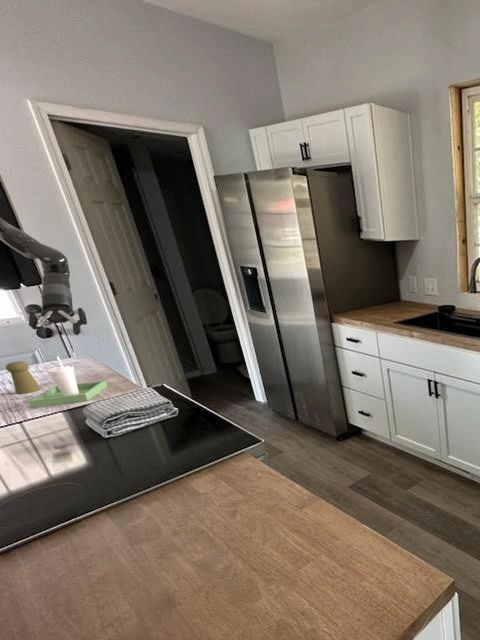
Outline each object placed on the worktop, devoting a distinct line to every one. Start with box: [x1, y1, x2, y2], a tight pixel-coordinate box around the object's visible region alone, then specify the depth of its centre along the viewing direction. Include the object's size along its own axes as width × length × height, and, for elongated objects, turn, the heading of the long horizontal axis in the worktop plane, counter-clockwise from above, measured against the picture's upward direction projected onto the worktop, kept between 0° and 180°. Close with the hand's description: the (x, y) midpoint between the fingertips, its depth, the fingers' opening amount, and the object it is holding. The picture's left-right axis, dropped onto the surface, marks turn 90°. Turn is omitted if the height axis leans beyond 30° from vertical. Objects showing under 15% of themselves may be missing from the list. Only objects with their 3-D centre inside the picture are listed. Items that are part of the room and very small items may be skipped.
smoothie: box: [46, 356, 79, 396], centre depth 142 cm, size 6×6×14 cm
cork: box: [5, 360, 41, 395], centre depth 148 cm, size 6×6×11 cm
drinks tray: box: [27, 380, 109, 409], centre depth 144 cm, size 15×15×2 cm
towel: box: [81, 386, 179, 439], centre depth 122 cm, size 15×18×8 cm
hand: (59, 335), depth 146 cm, fingers open, 8 cm apart
